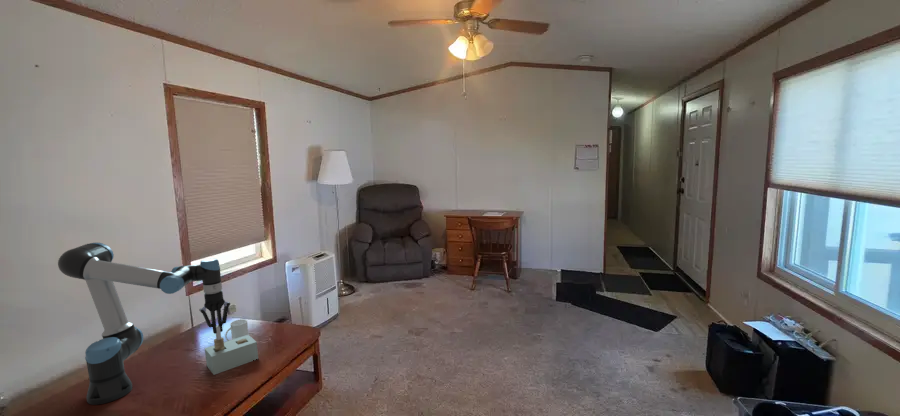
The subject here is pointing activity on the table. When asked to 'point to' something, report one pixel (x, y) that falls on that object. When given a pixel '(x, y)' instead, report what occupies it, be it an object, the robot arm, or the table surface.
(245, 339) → the peg far
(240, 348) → the socket block
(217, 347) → the peg near
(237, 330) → the mug
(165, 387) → the table surface
